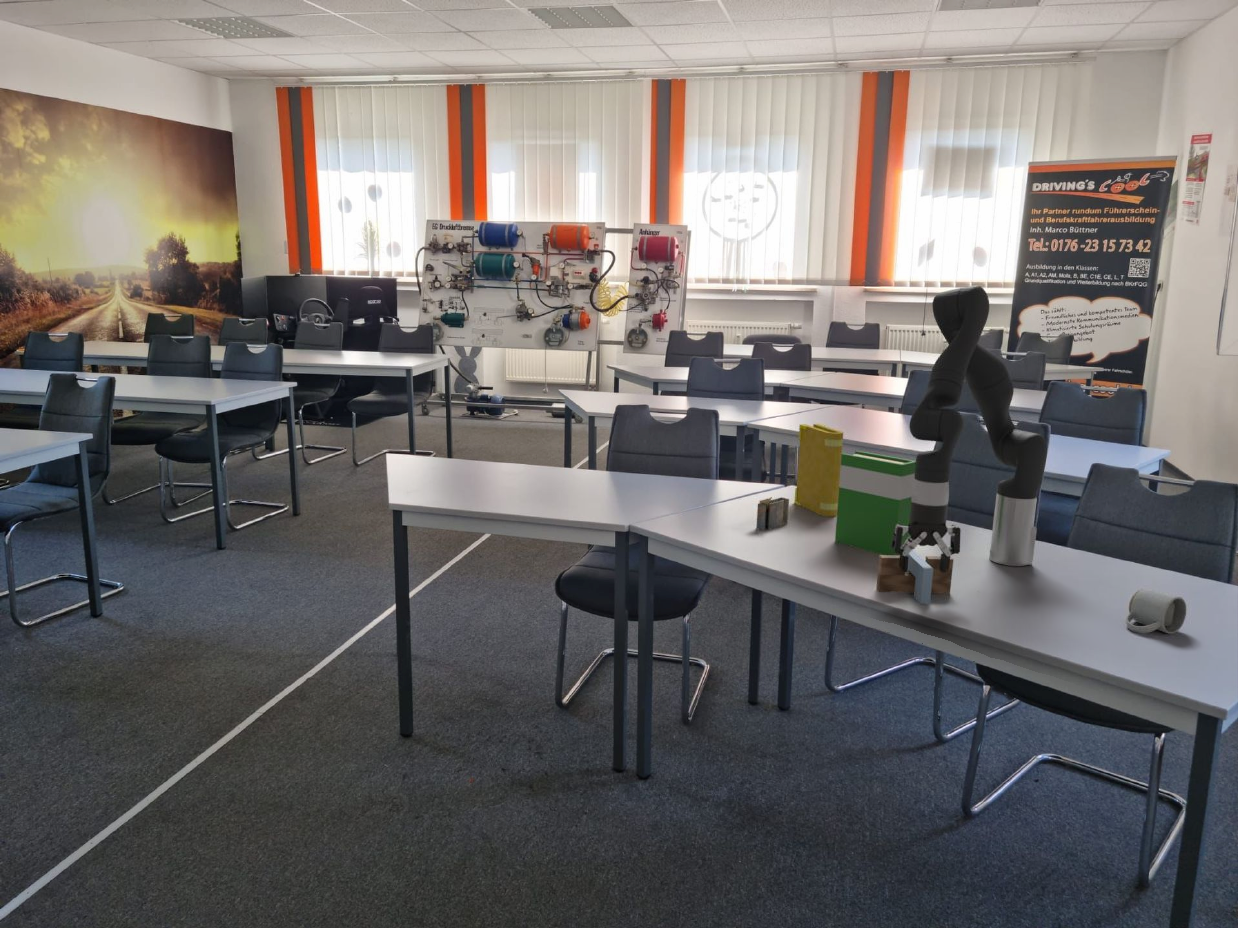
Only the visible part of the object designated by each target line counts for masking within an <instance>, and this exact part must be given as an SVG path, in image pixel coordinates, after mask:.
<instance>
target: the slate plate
mask: <svg viewBox="0 0 1238 928" xmlns="http://www.w3.org/2000/svg"><path fill="white" fill-rule="evenodd" d="M908 556H909V559H908V571H907V572H905V573H912V574H913V575H914V576H915V577H916V580H915V590H914V593H913V597H914V598H915V599H916V601H917V602H918V603H919V604H920V603H921V604H920V605H930V604H931V598H932V596H931V594H932V593H931V587H932V577H933V568H932V567H931V566H930V565H929V564H928V563H926V562H925V560H924V558H922V557H921V556H920V555H919V554H918V553H917V552H916V551H915V549H912V550H911V552H910V553H909V554H908Z"/></svg>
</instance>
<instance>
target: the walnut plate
mask: <svg viewBox="0 0 1238 928" xmlns="http://www.w3.org/2000/svg"><path fill="white" fill-rule="evenodd" d="M899 557H900V555H883V554H879V556H878V566H877V577H876V590H877V591H878V592H879V593H910V594H911V593H913V592H914V590H915V580H916V577H915V576H914V575H913V574H912V573H905V572H903V571H902V570H901V568H900V567H899ZM940 559H941V555H940V556H937V555H935V556H933V555H926V556H925V560H924V561H925V562H926V563H928V564H929V565H930V566H931V567H932V568H933V577H932V587H931V594H951V587H952V586H951V585H952V578H953V568H954V558H953V557H951V556H950V564H949V569H948V570H946V572H941V571H940ZM913 594H914V593H913Z"/></svg>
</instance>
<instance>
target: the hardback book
mask: <svg viewBox="0 0 1238 928" xmlns="http://www.w3.org/2000/svg"><path fill="white" fill-rule="evenodd" d="M854 453H855V454H848V453H843V452H842V456H841V469H840V482H839V495H838V508H837V515H836V523H835V524H836V525H835V537H834V542H835V541H836V543H838V544H839V543H840V544H842V543H844V544H843V545H847V546H850V545H852V546H851V547H854V548H857V547H858V549H860V550H861V549H862V550H865V551H870V552H873V553H876V554H879V555H883V554H884V555H900V554H898V553H895V552H894V551H893V550H892V549H891V545H892V538H893V531H894V526H895V525H896V524H899V525H900V526H908V525H909V522H910V510H911V498H912V488H913V483H914V477H915V465H916V460H912V459H906V458H901V457H900V458H899V457H894V456H889V455H884V454H878V453H872V452H867V451H861V450H855V452H854ZM909 536H910V534H909V533H908V531H907V532H906V533H905V535H904V536H902V541H901V547H902V545H903V544H904V543H905V541H906V539H907V538H908V537H909Z"/></svg>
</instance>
